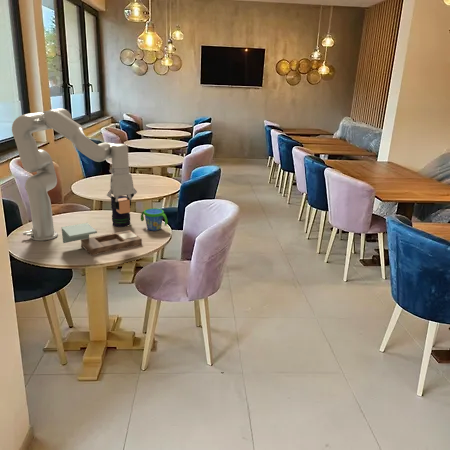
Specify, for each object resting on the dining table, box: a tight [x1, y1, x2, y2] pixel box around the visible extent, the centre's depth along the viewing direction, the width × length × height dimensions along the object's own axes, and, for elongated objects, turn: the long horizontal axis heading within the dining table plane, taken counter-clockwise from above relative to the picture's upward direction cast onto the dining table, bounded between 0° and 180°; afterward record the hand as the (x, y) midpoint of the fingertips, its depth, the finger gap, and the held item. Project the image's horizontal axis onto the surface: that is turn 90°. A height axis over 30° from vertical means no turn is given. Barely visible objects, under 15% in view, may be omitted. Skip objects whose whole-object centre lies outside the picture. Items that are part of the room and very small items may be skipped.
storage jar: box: [110, 195, 131, 228], centre depth 225 cm, size 10×10×15 cm
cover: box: [61, 222, 98, 244], centre depth 189 cm, size 12×13×8 cm
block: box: [116, 198, 131, 214], centre depth 197 cm, size 5×5×6 cm
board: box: [80, 229, 143, 256], centre depth 199 cm, size 25×14×3 cm, turn 126°
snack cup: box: [140, 207, 169, 232], centre depth 221 cm, size 16×10×10 cm
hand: (123, 207), depth 197 cm, fingers closed on block, 4 cm apart
